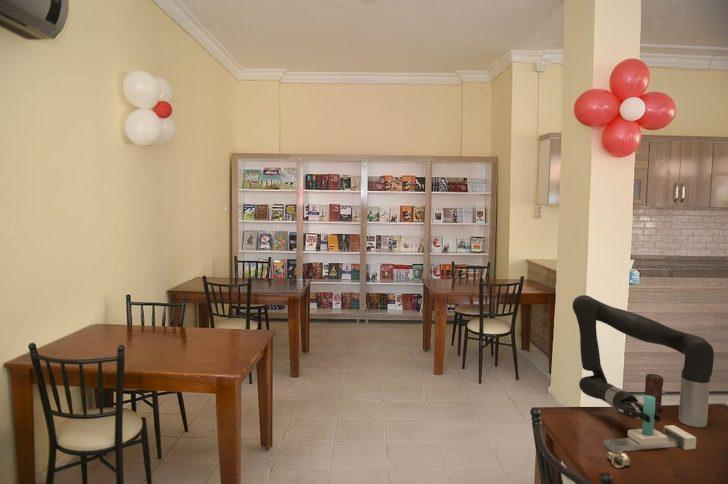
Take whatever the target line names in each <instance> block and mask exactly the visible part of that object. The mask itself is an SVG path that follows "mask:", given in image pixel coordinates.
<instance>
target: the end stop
mask: <svg viewBox="0 0 728 484" xmlns="http://www.w3.org/2000/svg"><path fill="white" fill-rule="evenodd" d="M663 434H664V435H667V434H668V435H669V436H671V437H673V438H674V439H676V440H678V441H679V443H678V447H680V448H682V449H683V450H685V451H689V450H697V449H696V448H697V447H696V446H697V437H696V436H695V435H692V434H691V433H689V432H687V431H685V430H683V429H682V428H680V427H678V426H676V425H674V424H671V425H670V424H669V425H663Z"/></svg>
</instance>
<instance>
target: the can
mask: <svg viewBox="0 0 728 484" xmlns="http://www.w3.org/2000/svg"><path fill="white" fill-rule="evenodd" d="M663 386H664V377H663V376H661V375H659V374H654V373H647V374H646V375H645V384H644V396H645V395H650V396H654V397H655V398H656V400H655V408H656V409H657V413H659V412H660V411H661V410H662V402H663V401H662V399H663V398H662V397H663Z"/></svg>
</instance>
